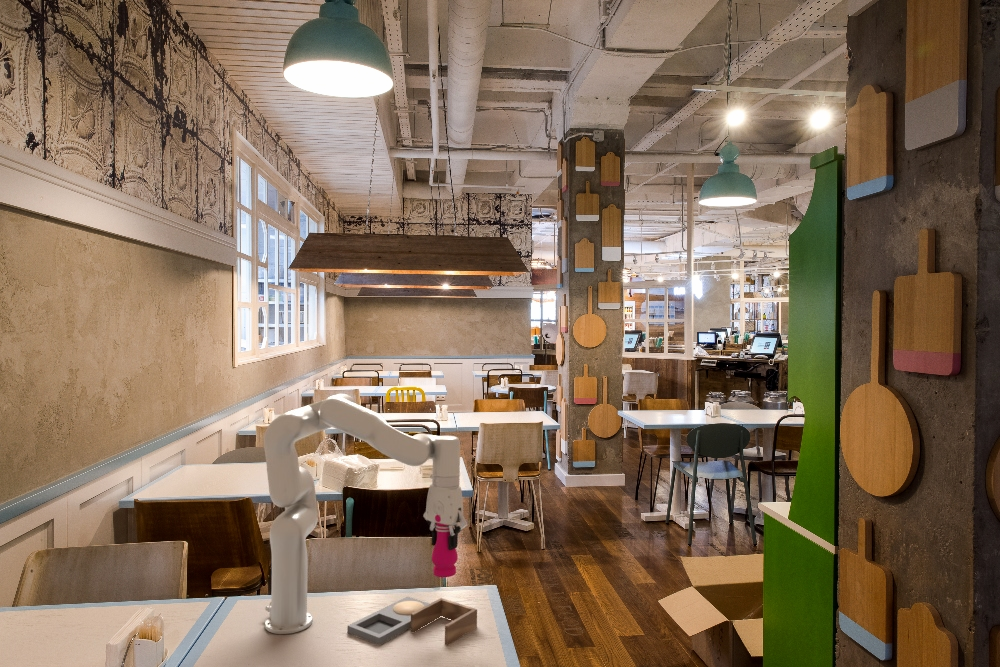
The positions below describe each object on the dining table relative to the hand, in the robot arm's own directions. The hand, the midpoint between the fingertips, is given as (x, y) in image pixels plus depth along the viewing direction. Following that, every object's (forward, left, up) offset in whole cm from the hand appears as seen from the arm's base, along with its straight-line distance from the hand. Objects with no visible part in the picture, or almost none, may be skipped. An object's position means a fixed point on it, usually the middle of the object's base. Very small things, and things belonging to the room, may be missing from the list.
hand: (444, 545), depth 178 cm
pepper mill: (0, 0, -8) cm, 8 cm away
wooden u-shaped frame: (0, 0, -23) cm, 23 cm away
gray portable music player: (-14, -5, -23) cm, 27 cm away
